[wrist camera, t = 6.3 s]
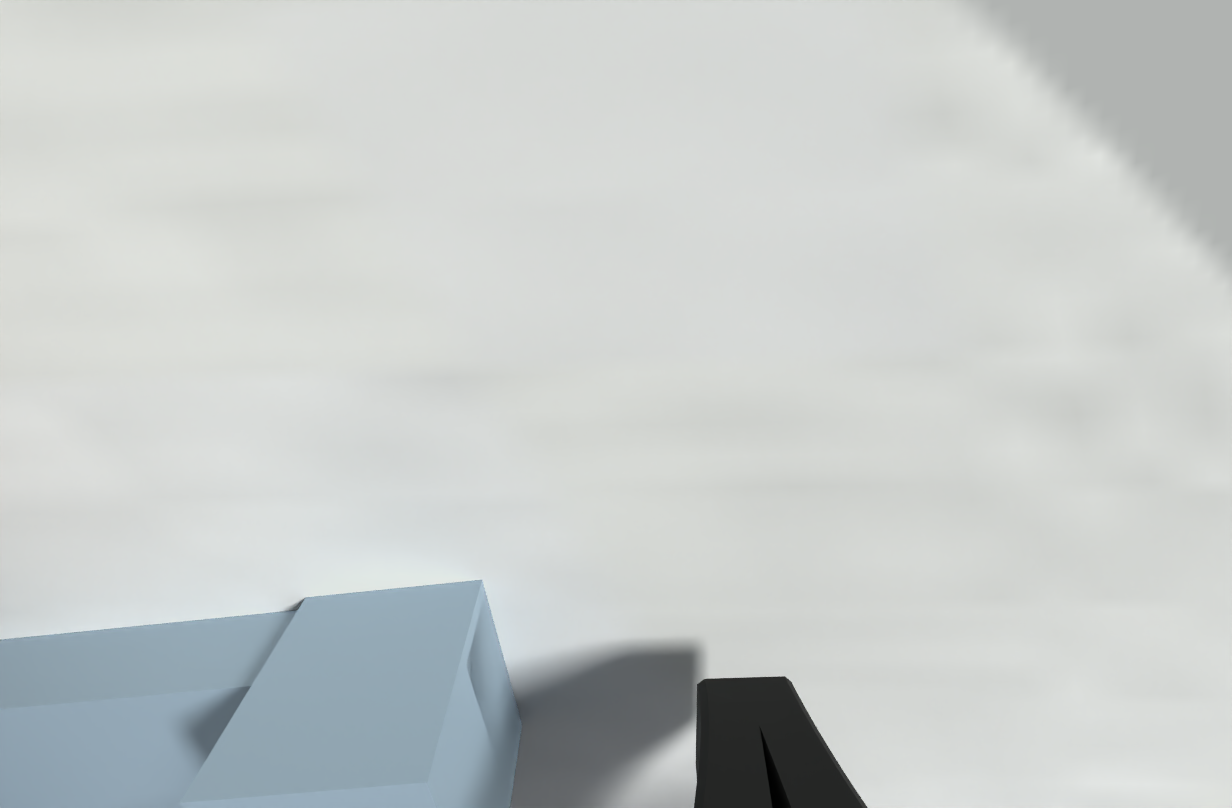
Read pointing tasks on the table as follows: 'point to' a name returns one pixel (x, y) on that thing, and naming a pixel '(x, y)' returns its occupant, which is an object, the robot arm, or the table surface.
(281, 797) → the pale blue mallet
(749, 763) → the robot arm
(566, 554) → the table surface
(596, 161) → the table surface
